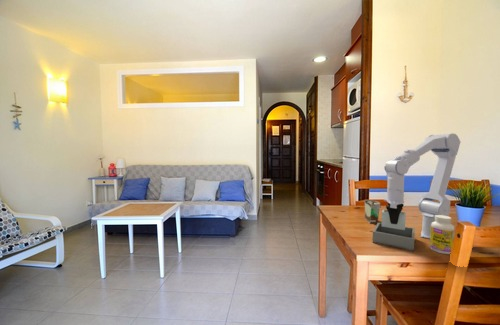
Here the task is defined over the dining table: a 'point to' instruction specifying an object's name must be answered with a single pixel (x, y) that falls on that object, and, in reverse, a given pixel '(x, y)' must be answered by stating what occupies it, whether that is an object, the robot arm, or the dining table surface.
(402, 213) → the small crate
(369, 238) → the dining table surface
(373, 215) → the food container
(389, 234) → the big crate
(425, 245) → the dining table surface
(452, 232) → the supplement bottle
